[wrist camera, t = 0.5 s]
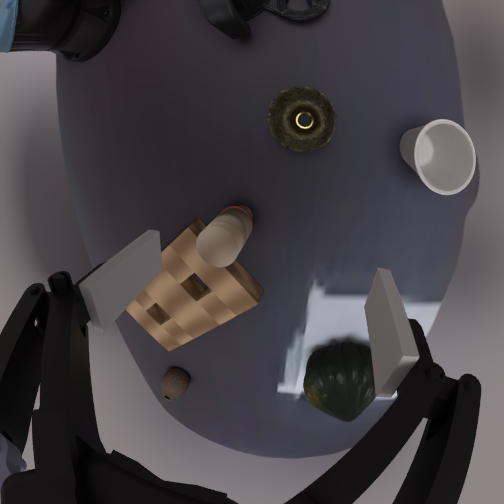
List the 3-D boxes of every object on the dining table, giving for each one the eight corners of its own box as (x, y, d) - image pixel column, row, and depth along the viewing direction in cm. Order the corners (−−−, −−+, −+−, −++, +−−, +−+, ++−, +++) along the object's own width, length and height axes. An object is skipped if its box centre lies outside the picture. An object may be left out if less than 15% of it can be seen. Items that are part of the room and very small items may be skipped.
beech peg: (219, 212, 41) (187, 243, 31) (243, 191, 39) (216, 218, 29) (241, 236, 42) (216, 274, 32) (265, 218, 40) (247, 252, 30)
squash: (311, 338, 42) (300, 426, 36) (396, 340, 39) (386, 425, 34) (306, 342, 55) (298, 409, 49) (373, 345, 52) (365, 411, 47)
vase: (165, 362, 63) (150, 386, 56) (188, 366, 62) (174, 392, 54) (173, 378, 66) (160, 402, 59) (195, 382, 65) (183, 408, 57)
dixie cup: (411, 107, 28) (441, 103, 19) (451, 147, 28) (487, 158, 20) (379, 150, 32) (400, 159, 23) (420, 188, 32) (449, 210, 24)
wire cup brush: (326, 152, 34) (329, 159, 27) (273, 141, 35) (262, 145, 28) (336, 100, 30) (342, 94, 23) (281, 89, 31) (272, 80, 24)
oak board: (125, 288, 54) (115, 298, 51) (198, 218, 43) (188, 227, 39) (176, 339, 58) (168, 351, 54) (263, 289, 46) (258, 303, 42)
